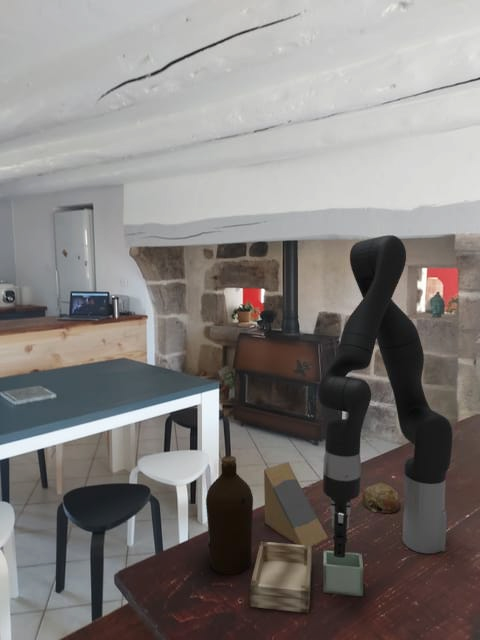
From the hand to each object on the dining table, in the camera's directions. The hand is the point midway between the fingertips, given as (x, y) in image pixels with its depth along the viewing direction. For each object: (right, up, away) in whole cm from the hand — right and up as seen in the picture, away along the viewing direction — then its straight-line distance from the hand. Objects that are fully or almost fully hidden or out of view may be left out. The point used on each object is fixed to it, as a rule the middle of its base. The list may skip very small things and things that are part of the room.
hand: (339, 544), depth 105 cm
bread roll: (+19, -5, +35) cm, 40 cm away
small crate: (+1, -9, +1) cm, 9 cm away
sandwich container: (-7, -7, +23) cm, 25 cm away
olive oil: (-23, -9, +10) cm, 26 cm away
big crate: (-12, -9, +1) cm, 15 cm away
